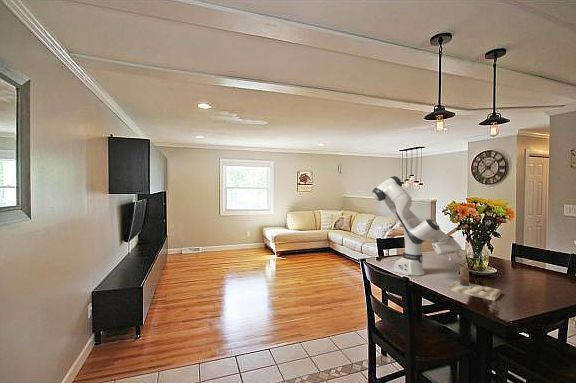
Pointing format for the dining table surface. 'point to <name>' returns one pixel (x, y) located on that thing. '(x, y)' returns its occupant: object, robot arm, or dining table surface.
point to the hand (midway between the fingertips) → (456, 258)
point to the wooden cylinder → (464, 276)
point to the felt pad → (464, 286)
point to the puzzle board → (477, 291)
